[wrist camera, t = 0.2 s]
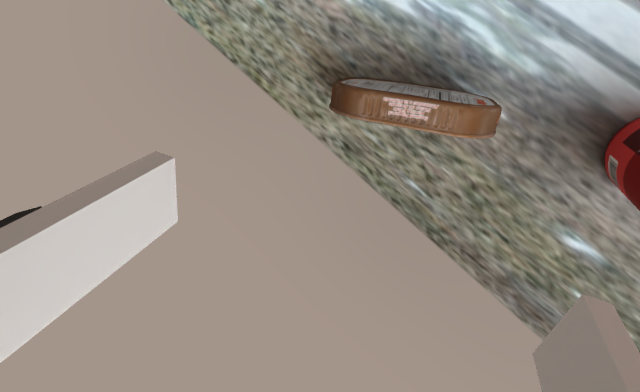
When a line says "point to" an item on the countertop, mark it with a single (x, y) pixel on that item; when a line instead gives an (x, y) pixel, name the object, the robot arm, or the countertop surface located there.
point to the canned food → (625, 161)
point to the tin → (416, 107)
